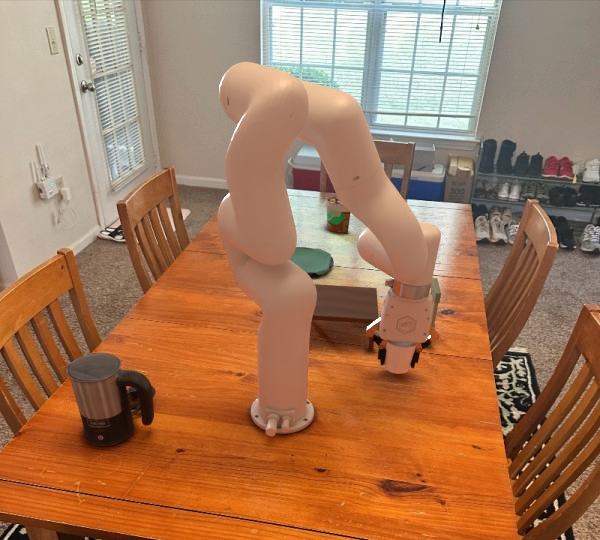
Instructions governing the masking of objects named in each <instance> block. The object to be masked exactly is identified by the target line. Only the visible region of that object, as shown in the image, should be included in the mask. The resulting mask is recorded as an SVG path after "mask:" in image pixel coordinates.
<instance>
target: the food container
mask: <svg viewBox="0 0 600 540" xmlns="http://www.w3.org/2000/svg"><path fill="white" fill-rule="evenodd" d="M336 196H337V194H332V195H328V197H326V199H325V202H324V207H325V208H326V230H327V231H328V232H330V233H332V234H337V235H349V227H350V222H351V221H350V219H351V214H352V213H351V212H350V211H349V210H348V209H347V208H346V207H345V206H344V205H343V204H342V202H341V201H340V200H339V198H338V197H336Z"/></svg>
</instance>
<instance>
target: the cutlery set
mask: <svg viewBox="0 0 600 540" xmlns="http://www.w3.org/2000/svg"><path fill="white" fill-rule="evenodd" d="M289 260H291V261H292V262H293V263H295V264H296V265H297V266H299V267H300V268H302V269H303V270H304V271H305V272H306V273H307V274H308V275H309V276H311V275H318V276H320V275H324V274H327V273H328V272H329V270H330V269H331V268H332V267H333V265H334V263H335V262H334V258H333V257H332V254H331V253H329V252H328V251H326V250H324V249H322V248H319V247H318V248H316V247H315V248H312V247H306V246H304V247H303V246H296V249H295V251H294V253H293V255H292V257H291V258H290V259H289Z"/></svg>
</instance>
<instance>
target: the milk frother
mask: <svg viewBox="0 0 600 540" xmlns="http://www.w3.org/2000/svg"><path fill="white" fill-rule="evenodd" d="M121 368H122V361H121V359H120V358H119V357H118V356H116V355H114V354H112V353H107V352H94V353H89V354H84V355H82V356H80V357H78V358H76V359H74V360H72V361H71V362H70V364H68V365H67V366H66V368H65V369H66V370H65V371H66V372H65V373H66V376H67V378H69V381H70V382H71V383H70V384H71V387H72V390H73V394H74V398H75V401H76V405H77V408H78V412H79V415H80V419H81V422H82V423H81V424H82V427H83V437H84V439H85V441H86V442H87V443H88V444H90V445H93V446H96V447H110V446H115V445H118V444H120V443H123V442H124V441H126V440H128V439H129V438H130V437H131V436H132V435H133V433H134V431H135V423H134V417H133V416H134V415H136V414H137V413H139V412H140V416H141V423H142V425H144V426H145V427H148V426H151V425H152V424H153V422H154V418H155V409H154V408H155V407H154V397H155V396H156V388H155V387H154V386H153V385H152V383H151V381H150V379H149V378H148V377H147V376H146V375H145V374H143V373H141V372H139V371H138V370H133V369H131V370H130V369H121ZM127 387H128V388H127ZM130 399H131V400H132V401H133V402H135V401H136V400H137V399H138V400H139V401H138V402H136V403H131V402H130Z"/></svg>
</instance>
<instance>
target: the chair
mask: <svg viewBox="0 0 600 540" xmlns="http://www.w3.org/2000/svg"><path fill="white" fill-rule="evenodd" d="M430 293H431V295H432V297H433V307H432V317H431V325H432V326H433V327H434V329H435V327H436V325H435V323H436V318H437V313H438V308H439V304H440V303H441V299H442V298H441V297H442V290H441V287H440V283H439V280H438V278H437V277H433V278H432V283H431V288H430ZM429 336H430V334H429ZM429 336H428V337H429ZM431 346H432V343H431V344H430V345H429V346H428V347H427V348H429V347H431Z"/></svg>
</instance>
